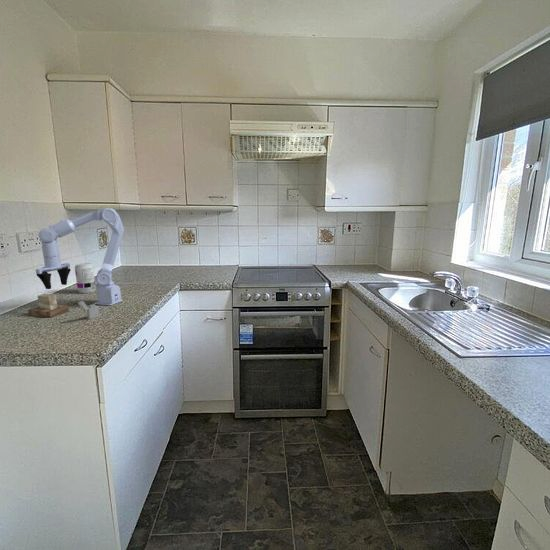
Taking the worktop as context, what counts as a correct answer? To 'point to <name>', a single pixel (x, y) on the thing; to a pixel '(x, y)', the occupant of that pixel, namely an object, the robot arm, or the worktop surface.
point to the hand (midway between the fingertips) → (56, 286)
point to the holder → (48, 311)
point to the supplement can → (85, 278)
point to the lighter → (90, 310)
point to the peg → (47, 301)
